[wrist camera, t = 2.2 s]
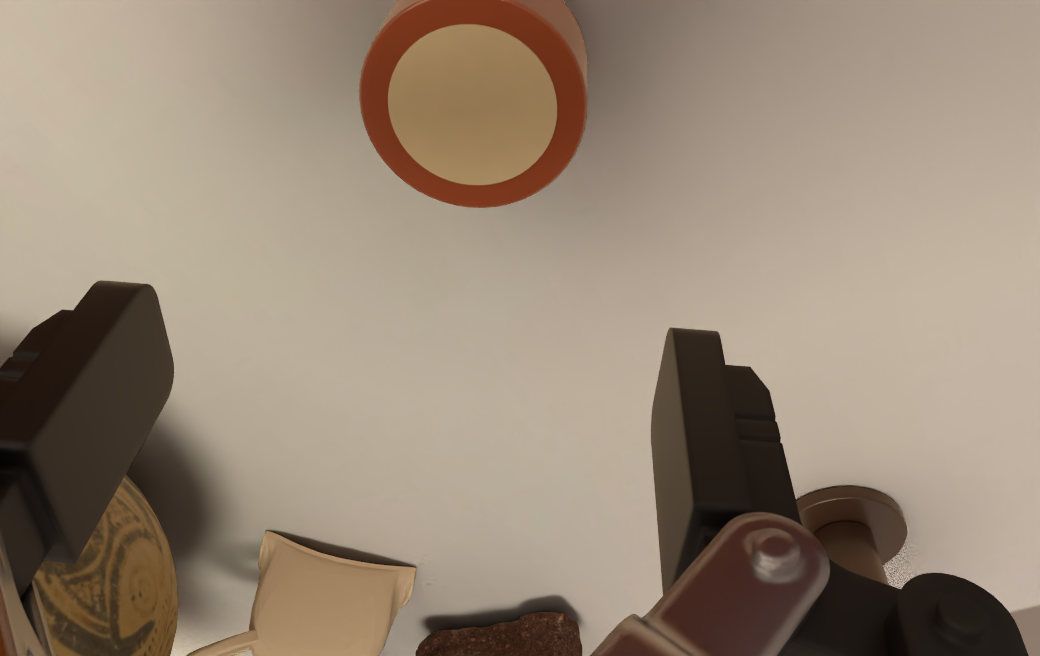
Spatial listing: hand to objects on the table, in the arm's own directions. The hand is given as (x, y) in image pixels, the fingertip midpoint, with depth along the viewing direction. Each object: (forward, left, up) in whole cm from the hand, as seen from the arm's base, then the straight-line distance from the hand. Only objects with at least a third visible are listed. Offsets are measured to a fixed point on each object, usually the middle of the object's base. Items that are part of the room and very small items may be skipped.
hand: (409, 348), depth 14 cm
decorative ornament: (+7, +24, -14) cm, 29 cm away
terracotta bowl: (0, 0, -13) cm, 13 cm away
